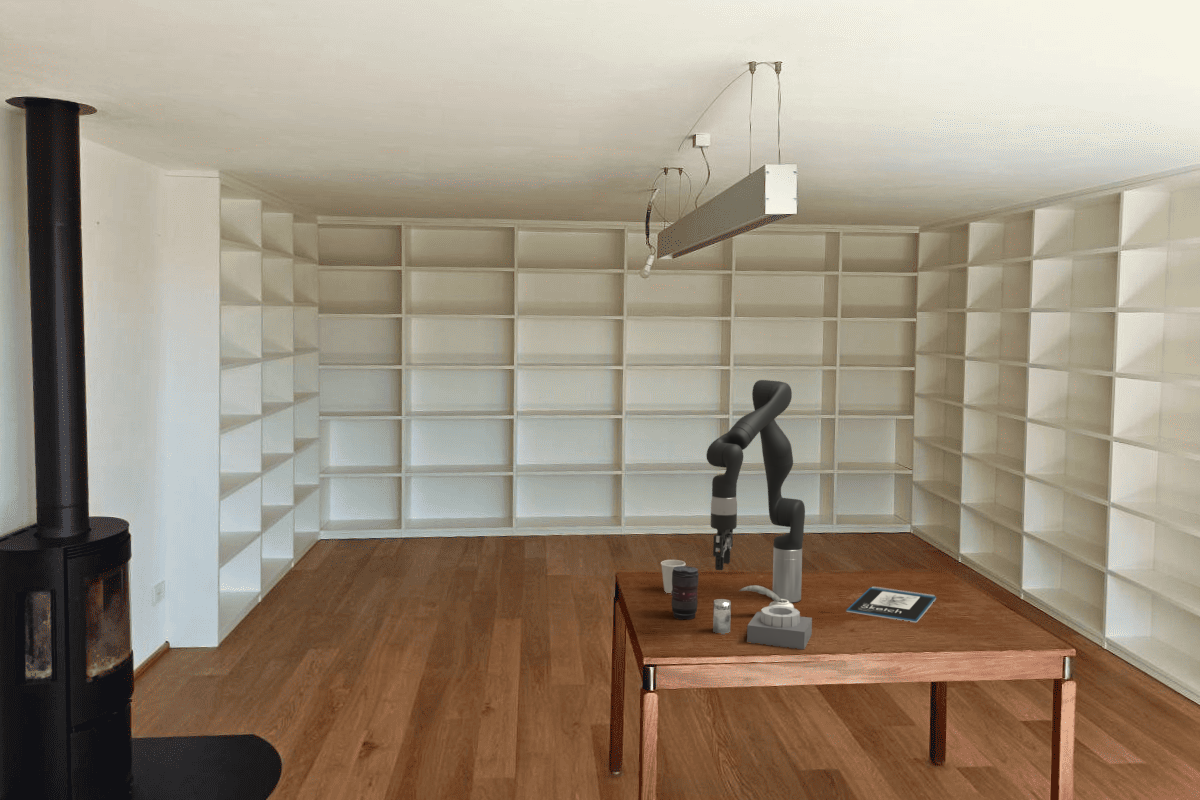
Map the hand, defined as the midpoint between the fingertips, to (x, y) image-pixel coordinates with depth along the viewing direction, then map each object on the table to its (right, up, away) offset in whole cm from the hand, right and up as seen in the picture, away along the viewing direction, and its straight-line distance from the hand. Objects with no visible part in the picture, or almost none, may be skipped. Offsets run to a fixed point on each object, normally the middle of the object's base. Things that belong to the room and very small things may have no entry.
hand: (722, 566), depth 283 cm
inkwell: (+16, -19, +16) cm, 29 cm away
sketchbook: (+58, -18, +30) cm, 68 cm away
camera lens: (-10, -18, +16) cm, 26 cm away
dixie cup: (-11, -16, +43) cm, 47 cm away
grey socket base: (+16, -20, -4) cm, 26 cm away
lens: (0, -19, +2) cm, 19 cm away
